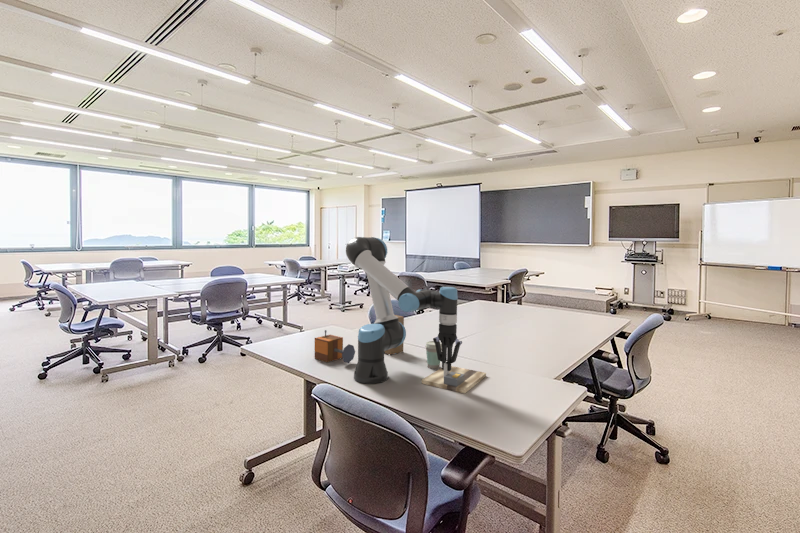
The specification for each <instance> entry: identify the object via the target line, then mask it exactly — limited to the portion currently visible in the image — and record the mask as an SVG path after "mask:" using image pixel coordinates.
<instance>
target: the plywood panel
mask: <svg viewBox="0 0 800 533" xmlns="http://www.w3.org/2000/svg"><path fill="white" fill-rule="evenodd" d="M451 372H456V373H461V374H465V379H464V382H463V383H461V384H460V385H459V386H457V387H455V386H451V385H447V384H444V378H443V377H444V370H442V367H441V368H438V370H437V369H436V371H434V372H432V373H430V374H429V375H427V376H426V377H424V378H422V379H421V384H423V385H427V386H431V387H435V388H439V389H444V390H448V391H452V392H456V393H461V394H467V392H468V391H470V390H471V389H472V388H474V387H475V386H476V385H477V384H479V383H480V382H481V381H482V380H483V379H485V378H486V376H487V372H483V371H479V370H474V369H470V368H469V369H468V368H463V367H460V366H459V367H458V366H453V365H451V370H450V371H449V373H451Z"/></svg>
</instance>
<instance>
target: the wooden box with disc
mask: <svg viewBox="0 0 800 533" xmlns="http://www.w3.org/2000/svg"><path fill="white" fill-rule="evenodd" d="M355 355H356V350H355V346H354V345H352V344H347V345H345V347H344V337H341V336H339V335H333V334H327V329H324V335H321V336H318V337H314V359H316V360H319V361H322V362H326V363H330V362H333V360H334V361H338V360H340V358H341V359H342V361H343V362H344V363H348V364H349V363H351V361H353V360H354V357H355Z"/></svg>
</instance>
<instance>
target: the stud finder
mask: <svg viewBox="0 0 800 533" xmlns="http://www.w3.org/2000/svg"><path fill="white" fill-rule="evenodd" d="M464 379H465V374H461V373H456V372H451V373H449V374H448V375H446V376H444V384H447V385H451V386H455V387H457V386H459V385H460V384H461V383H463V382H464Z"/></svg>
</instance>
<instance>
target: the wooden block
mask: <svg viewBox="0 0 800 533" xmlns="http://www.w3.org/2000/svg"><path fill="white" fill-rule="evenodd" d="M394 315H395V316H397V317H398V320H399V322H400V323H402V325H404V326H405V317H404V316H403V315H399V314H394ZM384 352H385V353H384V354H386V353H387V354H386V355H388V354H390V355H389V356H392V355H391V354H393V355H396V354H395V353H397V354H400V353H399V352H401V353H404V342H403V343H402V344H401V345H399V346H398V347H396V348H392V349H389V350H386V351H384Z"/></svg>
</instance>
